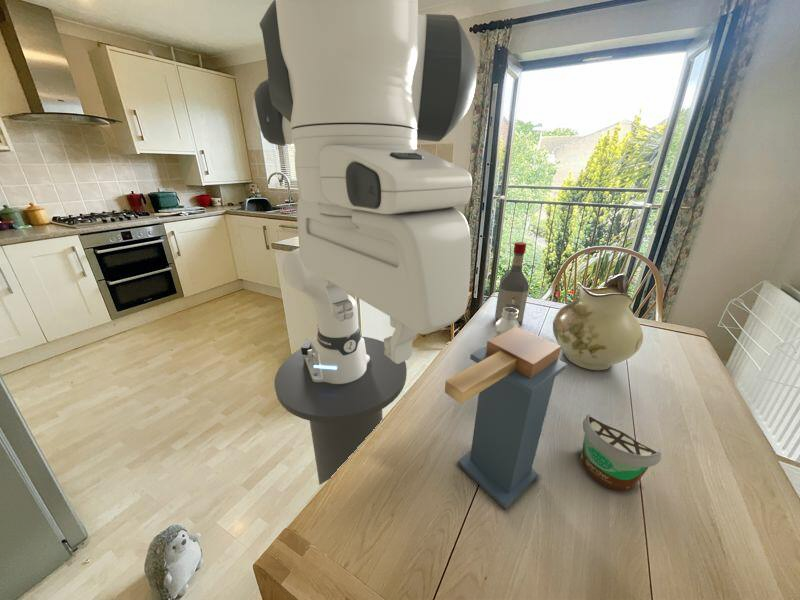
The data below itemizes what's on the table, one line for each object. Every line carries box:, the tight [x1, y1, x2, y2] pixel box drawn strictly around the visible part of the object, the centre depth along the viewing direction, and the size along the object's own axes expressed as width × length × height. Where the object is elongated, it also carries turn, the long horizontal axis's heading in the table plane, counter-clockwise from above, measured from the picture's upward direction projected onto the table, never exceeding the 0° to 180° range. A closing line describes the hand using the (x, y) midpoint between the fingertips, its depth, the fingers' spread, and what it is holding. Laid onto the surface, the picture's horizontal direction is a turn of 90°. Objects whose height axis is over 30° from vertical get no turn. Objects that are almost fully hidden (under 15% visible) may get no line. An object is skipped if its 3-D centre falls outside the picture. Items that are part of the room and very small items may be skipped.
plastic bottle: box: [493, 307, 521, 337], centre depth 83 cm, size 6×7×20 cm
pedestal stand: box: [457, 345, 568, 510], centre depth 55 cm, size 11×10×26 cm
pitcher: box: [552, 273, 644, 371], centre depth 90 cm, size 22×24×25 cm
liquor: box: [494, 241, 530, 328], centre depth 109 cm, size 9×9×30 cm
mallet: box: [444, 326, 562, 405], centre depth 46 cm, size 8×20×2 cm, turn 128°
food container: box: [580, 412, 663, 492], centre depth 57 cm, size 12×6×10 cm, turn 40°
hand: (367, 335), depth 29 cm, fingers open, 8 cm apart
